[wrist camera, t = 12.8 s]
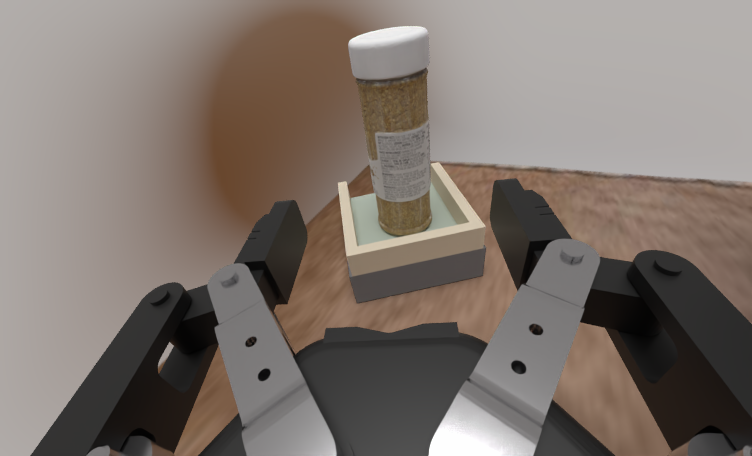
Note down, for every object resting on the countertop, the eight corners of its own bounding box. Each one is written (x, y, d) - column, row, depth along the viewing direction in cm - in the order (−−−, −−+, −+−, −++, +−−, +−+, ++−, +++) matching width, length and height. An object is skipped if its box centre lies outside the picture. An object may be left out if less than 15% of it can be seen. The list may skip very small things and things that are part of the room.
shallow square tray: (441, 205, 31) (440, 161, 28) (482, 275, 24) (488, 226, 20) (346, 225, 31) (335, 183, 28) (356, 303, 23) (343, 257, 20)
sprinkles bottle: (382, 205, 27) (355, 31, 19) (433, 204, 27) (429, 20, 18) (374, 239, 24) (337, 44, 16) (433, 239, 23) (427, 32, 15)
